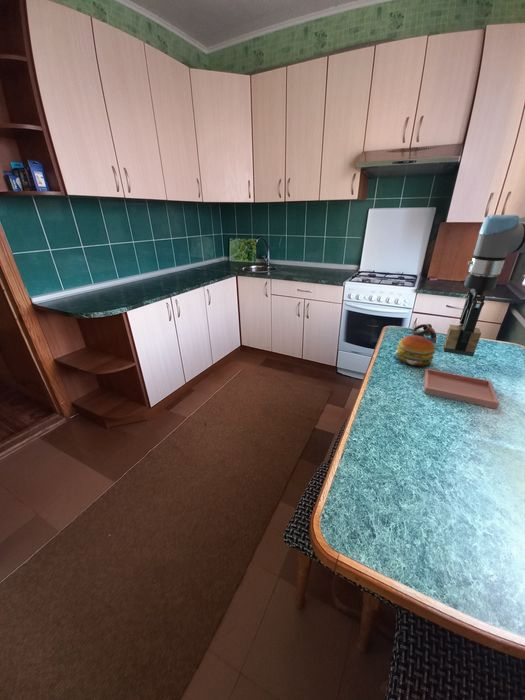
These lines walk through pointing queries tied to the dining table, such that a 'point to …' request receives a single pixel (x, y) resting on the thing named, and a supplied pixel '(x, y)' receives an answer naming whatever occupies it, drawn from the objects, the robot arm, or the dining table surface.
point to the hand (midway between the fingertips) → (459, 346)
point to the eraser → (453, 338)
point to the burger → (415, 350)
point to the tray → (460, 388)
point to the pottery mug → (425, 331)
